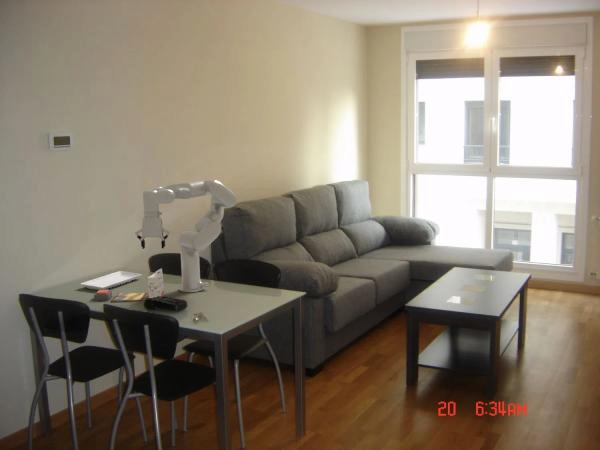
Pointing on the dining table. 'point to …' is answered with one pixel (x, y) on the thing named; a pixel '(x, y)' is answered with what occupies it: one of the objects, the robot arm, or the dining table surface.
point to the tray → (110, 280)
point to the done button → (102, 292)
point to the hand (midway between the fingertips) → (153, 248)
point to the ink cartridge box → (156, 284)
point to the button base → (103, 297)
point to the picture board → (130, 297)
